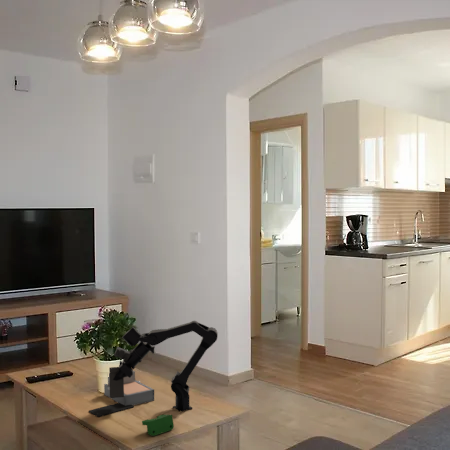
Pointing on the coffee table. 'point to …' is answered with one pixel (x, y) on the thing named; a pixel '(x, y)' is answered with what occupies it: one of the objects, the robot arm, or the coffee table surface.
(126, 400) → the flap frame
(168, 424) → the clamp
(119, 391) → the phone stand
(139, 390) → the flap
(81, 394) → the coffee table surface
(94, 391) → the coffee table surface
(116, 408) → the cell phone
